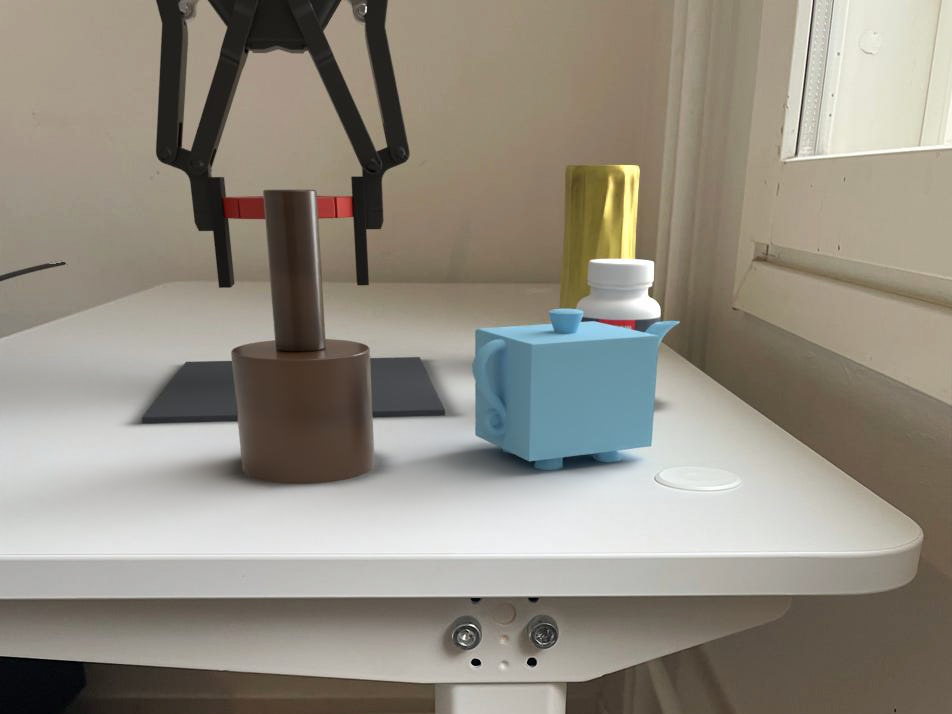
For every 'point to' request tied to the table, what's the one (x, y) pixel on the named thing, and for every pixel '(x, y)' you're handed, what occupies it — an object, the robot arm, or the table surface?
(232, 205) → the ring
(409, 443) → the table surface
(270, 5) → the robot arm
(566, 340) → the teapot
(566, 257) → the vase
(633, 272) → the pill bottle
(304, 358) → the ring holder
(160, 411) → the mat
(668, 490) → the table surface
